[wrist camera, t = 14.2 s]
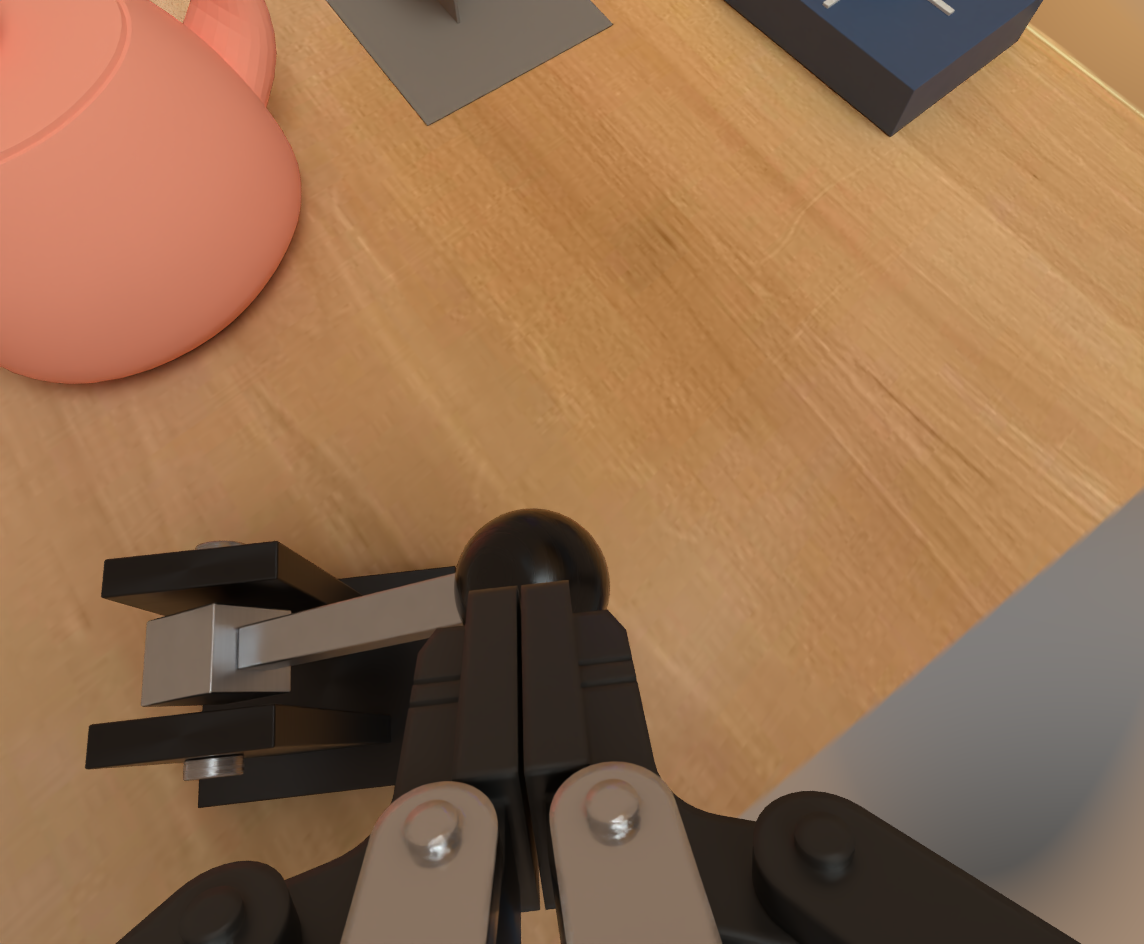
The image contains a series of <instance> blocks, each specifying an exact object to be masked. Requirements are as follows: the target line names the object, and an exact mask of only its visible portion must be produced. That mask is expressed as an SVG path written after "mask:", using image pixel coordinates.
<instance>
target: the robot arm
mask: <svg viewBox="0 0 1144 944" xmlns="http://www.w3.org/2000/svg"><path fill="white" fill-rule="evenodd" d="M413 681H414V685H412V691H411V697H410V708H408V714H407V720H406V726H405V732H404V737H403V743H402V749H401V755H400V761H399V766H398V772H397V778H396V784H395V790H394V795H393V799H392V802H391V805H390V806H389V807H388V808H387V809H386V810H385V811H384V812H383V813H382V815H381V816H380V817H379V819H378V820H377V822H376V824H375V826H374V827H373V830H372V833H371V834H370V835H369V836H368V837H367V838H366V839H365V840H364V841H363V842H362V843H360V844H359V845H358V846H356V847H355V848H354V849H352V850H351V851H349V852H348V853H346V854H344V855H343V856H341V857H339V858H337V859H334V860H332V861H330V862H328V863H326V864H323V865H321V866H318V867H316V868H313V869H311V870H309V871H306V872H304V873H301V874H299V875H296V876H294V877H292V878H289V879H287V880H284V879H283V877H282V876H281V874H280V873H279V872H278V871H276V870H275V869H274V868H272V867H271V866H269V865H267V864H264V863H260V862H255V861H238V862H232V863H228V864H224V865H221V866H218V867H215V868H212V869H210V870H208V871H206V872H204V873H202V874H200V875H198V876H197V877H195V878H194V879H192V880H190V881H189V882H187V883H186V884H185V885H184V886H182V887H181V888H180V889H178V890H177V891H176V892H175V893H174V894H172V895H171V896H170V897H169V898H168V899H167V900H166V901H164V902H163V903H162V904H161V905H160V906H159V907H157V908H156V909H155V910H154V911H153V912H152V913H150V914H149V915H148V916H147V917H146V918H145V919H144V920H142V921H141V922H140V923H139V924H138V925H137V926H135V927H134V928H133V929H132V930H131V931H130V932H128V933H127V934H126V935H125V936H124V937H123V938H122V939H120V940H119V941H118V942H117V943H116V944H521V912H529V911H537V910H540V893H539V871H540V877H541V884H542V890H543V896H544V903H545V909H546V910H548V909H556V913H557V920H558V926H559V933H560V940H561V944H1081V943H1079V942H1077V941H1076V940H1074V939H1073V938H1071V937H1069V936H1068V935H1066V934H1065V933H1063V932H1061V931H1060V930H1058V929H1057V928H1055V927H1053V926H1052V925H1050V924H1049V923H1047V922H1045V921H1044V920H1042V919H1040V918H1039V917H1037V916H1036V915H1034V914H1033V913H1031V912H1029V911H1028V910H1026V909H1025V908H1023V907H1021V906H1020V905H1018V904H1016V903H1015V902H1013V901H1012V900H1010V899H1009V898H1007V897H1005V896H1004V895H1002V894H1000V893H999V892H997V891H996V890H994V889H992V888H991V887H989V886H987V885H986V884H984V883H983V882H981V881H980V880H978V879H976V878H975V877H973V876H972V875H970V874H968V873H967V872H965V871H964V870H962V869H960V868H959V867H957V866H955V865H954V864H952V863H951V862H949V861H947V860H946V859H944V858H943V857H941V856H939V855H938V854H936V853H935V852H933V851H931V850H930V849H928V848H927V847H925V846H923V845H922V844H920V843H919V842H917V841H915V840H913V839H912V838H911V837H909V836H907V835H906V834H904V833H903V832H901V831H899V830H898V829H896V828H895V827H893V826H891V825H890V824H888V823H886V822H885V821H883V820H882V819H880V818H878V817H877V816H875V815H874V814H872V813H870V812H869V811H867V810H866V809H864V808H862V807H861V806H859V805H857V804H855V803H853V802H852V801H850V800H848V799H845V798H843V797H840V796H837V795H834V794H829V793H826V792H817V791H801V792H795V793H791V794H788V795H785V796H782V797H780V798H778V799H776V800H774V801H773V802H771V803H770V804H769V805H768V806H767V807H765V809H764V810H763V811H762V812H761V814H760V815H759V817H758V819H757V821H756V822H755V821H749V820H744V819H739V818H733V817H727V816H721V815H717V814H712V813H708V812H705V811H703V810H700V809H697V808H695V807H693V806H691V805H689V804H687V803H686V802H684V801H683V800H681V799H680V798H679V797H677V796H676V795H675V794H674V793H673V792H672V791H671V790H670V789H669V787H668V786H667V784H666V783H665V782H664V781H663V780H662V779H661V777H660V775H659V773H658V772H657V768H656V765H655V762H654V757H653V753H652V748H651V743H650V739H649V734H648V729H647V725H646V720H645V716H644V711H643V706H642V702H641V697H640V692H639V688H638V683H637V680H636V674H635V669H634V665H633V660H632V655H631V651H630V646H629V641H628V637H627V632H626V629H625V628H624V627H623V626H622V625H621V624H620V623H619V622H618V621H617V620H616V618H615V617H614V616H613V615H612V614H611V613H610V612H609V611H608V610H598V611H590V612H581V613H572V606H571V597H570V589H569V581H568V580H563V581H554V582H545V583H537V584H528V585H521V603H520V596H519V590H518V586H508V587H499V588H490V589H481V590H472V591H469V593H468V601H467V612H466V623H465V625H464V626H455V627H446V628H437V629H436V630H435V631H434V632H433V634H432V635H431V636H430V638H429V639H428V640H427V642H426V643H425V644H424V646H423V647H422V649H421V650H420V651H419V653H418V656H417V662H416V668H415V674H414V679H413Z"/></svg>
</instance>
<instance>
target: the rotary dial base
mask: <svg viewBox="0 0 1144 944" xmlns="http://www.w3.org/2000/svg"><path fill="white" fill-rule="evenodd" d="M725 1H726V2H727V3H728V4H730V5H731V6H732V7H733V8H734V9H736V10H737V11H738V12H739V13H740V14H742V15H743V16H744V17H745V18H747V19H748V20H749V21H750V22H751V23H753V24H754V25H755V26H756V27H758V28H759V29H760V30H761V31H762V32H764V33H765V34H766V35H767V36H768V37H770V38H771V39H772V40H773V41H775V42H776V43H777V44H778V45H779V46H781V47H782V48H783V49H784V50H786V51H787V52H788V53H789V54H790V55H792V56H793V57H794V58H795V59H796V60H798V61H799V62H800V63H801V64H803V65H804V66H805V67H806V68H807V69H809V70H810V71H811V72H812V73H813V74H815V75H816V76H817V77H818V78H820V79H821V80H822V81H823V82H824V83H826V84H827V85H828V86H829V87H831V88H832V89H833V90H834V91H835V92H837V93H838V94H839V95H840V96H841V97H843V98H844V99H845V100H846V101H848V102H849V103H850V104H851V105H852V106H854V107H855V108H856V109H857V110H859V111H860V112H861V113H862V114H863V115H865V116H866V117H867V118H868V119H869V120H871V121H872V122H873V123H874V124H876V125H877V126H878V127H879V128H880V129H882V130H883V131H884V132H885V133H887V134H888V135H889V136H890V137H891V136H892V135H893V134H895V133H896V132H897V131H899V130H900V129H901V128H903V127H904V126H905V125H907V124H908V123H909V122H911V121H912V120H913V119H915V118H916V117H917V116H919V115H920V114H921V113H923V112H924V111H925V110H927V109H928V108H929V107H931V106H932V105H933V104H935V103H936V102H937V101H939V100H940V99H941V98H943V97H944V96H945V95H946V94H948V93H949V92H950V91H952V90H953V89H954V88H956V87H957V86H958V85H960V84H961V83H962V82H964V81H965V80H966V79H968V78H969V77H970V76H972V75H973V74H974V73H976V72H977V71H978V70H980V69H981V68H982V67H984V66H985V65H986V64H988V63H989V62H990V61H992V60H993V59H994V58H996V57H997V56H998V55H999V54H1001V53H1002V52H1003V51H1005V50H1006V49H1007V48H1009V47H1010V46H1011V45H1013V44H1014V43H1015V42H1017V41H1018V39H1019V38H1020V36H1021V34H1022V33H1023V31H1024V30H1025V28H1026V26H1027V25H1028V23H1029V22H1030V20H1031V18H1032V17H1033V15H1034V14H1035V12H1036V11H1037V9H1038V7H1039V6H1040V4H1041V3H1042V1H1043V0H725Z"/></svg>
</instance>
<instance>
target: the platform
mask: <svg viewBox="0 0 1144 944" xmlns="http://www.w3.org/2000/svg"><path fill="white" fill-rule="evenodd" d="M326 1H327V2H328V3H329V4H330V6H331V7H332V8H333V9H334V10H335V12H336V13H337V14H338V15H339V17H340V18H341V19H342V20H343V22H344V23H345V24H346V25H347V27H348V28H349V29H350V30H351V32H352V33H353V34H354V35H355V36H356V38H357V39H358V40H359V41H360V43H361V44H362V45H363V46H364V48H365V49H366V50H367V51H368V53H369V54H370V55H371V56H372V57H373V59H374V60H375V61H376V62H377V64H378V65H379V66H380V67H381V69H382V70H383V71H384V72H385V74H386V75H387V76H388V77H389V79H390V80H391V81H392V82H393V83H394V85H395V86H396V87H397V88H398V90H399V91H400V92H401V93H402V95H403V96H404V97H405V98H406V100H407V101H408V102H409V103H410V104H411V106H412V107H413V108H414V109H415V111H416V112H417V113H418V114H419V116H420V117H421V118H422V119H423V121H424V122H425V123H426V124H427V125H430V124H432V123H433V122H435V121H437V120H439V119H441V118H443V117H444V116H446V115H448V114H450V113H452V112H454V111H455V110H457V109H459V108H461V107H463V106H465V105H466V104H468V103H470V102H472V101H474V100H476V99H477V98H479V97H481V96H483V95H485V94H487V93H488V92H490V91H492V90H494V89H496V88H498V87H499V86H501V85H503V84H505V83H507V82H509V81H510V80H512V79H514V78H516V77H518V76H520V75H521V74H523V73H525V72H527V71H529V70H531V69H532V68H534V67H536V66H538V65H540V64H542V63H543V62H545V61H547V60H549V59H551V58H553V57H554V56H556V55H558V54H560V53H562V52H564V51H565V50H567V49H569V48H571V47H573V46H575V45H576V44H578V43H580V42H582V41H584V40H586V39H587V38H589V37H591V36H593V35H595V34H597V33H598V32H600V31H602V30H604V29H606V28H607V27H609V26H611V25H613V24H612V23H611V22H610V20H609V19H608V18H607V17H606V16H605V15H604V14H603V13H602V12H601V11H600V10H599V9H598V8H597V7H596V6H595V5H594V4H593V3H592V2H591V1H590V0H326Z"/></svg>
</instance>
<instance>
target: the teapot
mask: <svg viewBox="0 0 1144 944" xmlns="http://www.w3.org/2000/svg"><path fill="white" fill-rule="evenodd" d="M276 54H277V53H276V44H275V34H274V29H273V25H272V22H271V18H270V14H269V11H268V8H267V6H266V3H265V1H264V0H190V4H189V7H188V10H187V13H186V16H185V19H184V21H183V23H181V22H180V21H178V20H177V19H176V18H174V17H173V16H172V15H170V14H169V13H167V12H166V11H164V10H163V9H161V8H160V7H158V6H157V5H155V4H154V3H152V2H151V1H149V0H0V366H1V367H3V368H5V369H7V370H9V371H11V372H13V373H16V374H20V375H23V376H27V377H30V378H34V379H38V380H43V381H48V382H57V383H65V384H82V383H95V382H101V381H107V380H113V379H120V378H124V377H127V376H131V375H134V374H137V373H140V372H144V371H147V370H150V369H153V368H155V367H158V366H160V365H162V364H165V363H167V362H169V361H172V360H174V359H176V358H178V357H180V356H182V355H183V354H185V353H187V352H189V351H191V350H193V349H195V348H196V347H198V346H200V345H201V344H203V343H204V342H206V341H207V340H209V339H210V338H212V337H214V336H215V335H216V334H218V333H219V332H220V331H221V330H223V329H224V328H225V327H226V326H228V325H229V324H230V323H231V322H233V321H234V320H235V319H236V318H237V317H238V316H239V315H240V314H241V313H242V312H243V311H244V310H245V309H246V308H247V307H248V306H249V305H250V304H251V303H252V301H253V300H254V299H255V298H256V297H257V295H258V294H259V293H260V292H261V291H262V289H263V288H264V287H265V285H266V284H267V282H268V281H269V279H270V278H271V276H272V275H273V273H274V272H275V270H276V269H277V267H278V265H279V263H280V262H281V260H282V258H283V256H284V254H285V252H286V250H287V248H288V246H289V244H290V242H291V239H292V237H293V234H294V231H295V229H296V226H297V223H298V218H299V213H300V208H301V179H300V173H299V168H298V163H297V160H296V158H295V155H294V153H293V150H292V148H291V146H290V144H289V142H288V140H287V138H286V136H285V135H284V133H283V131H282V130H281V128H280V127H279V125H278V124H277V122H276V121H275V119H274V118H273V116H272V115H271V113H270V112H269V111H268V109H267V104H268V100H269V96H270V92H271V88H272V84H273V80H274V75H275V64H276Z"/></svg>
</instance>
